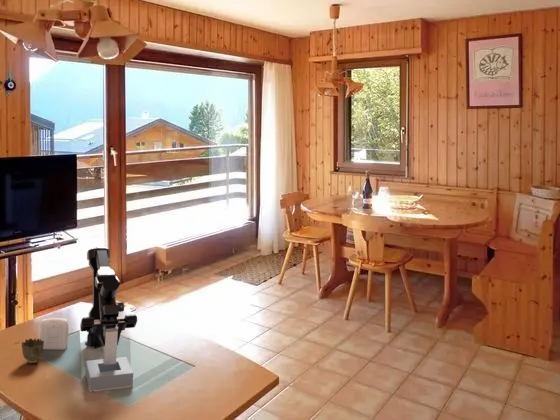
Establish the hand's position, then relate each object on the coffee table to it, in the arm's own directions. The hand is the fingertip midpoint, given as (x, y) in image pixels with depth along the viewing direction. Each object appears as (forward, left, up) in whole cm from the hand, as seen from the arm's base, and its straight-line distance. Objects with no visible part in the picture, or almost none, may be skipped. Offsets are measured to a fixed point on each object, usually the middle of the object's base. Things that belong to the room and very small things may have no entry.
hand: (110, 345), depth 183 cm
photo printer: (-5, -38, -14) cm, 41 cm away
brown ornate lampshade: (+8, -32, -14) cm, 36 cm away
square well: (-1, -1, -13) cm, 13 cm away
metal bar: (-1, -1, -7) cm, 7 cm away
